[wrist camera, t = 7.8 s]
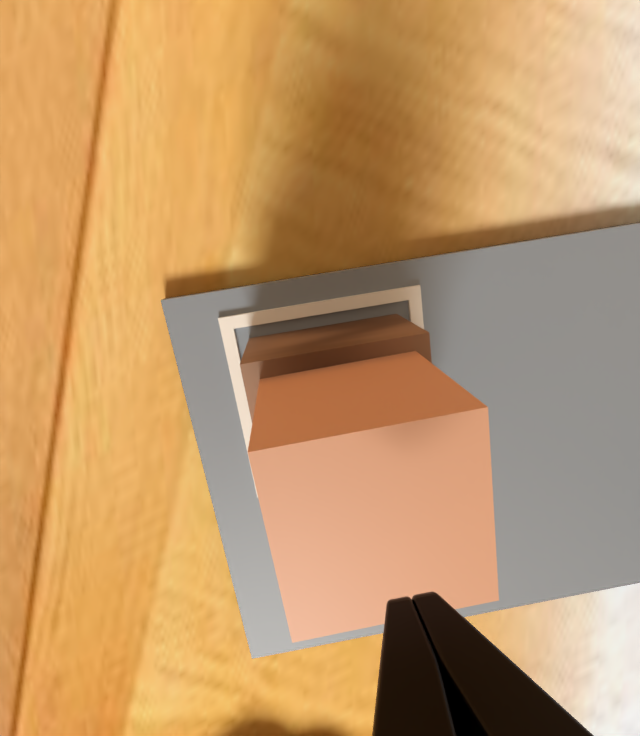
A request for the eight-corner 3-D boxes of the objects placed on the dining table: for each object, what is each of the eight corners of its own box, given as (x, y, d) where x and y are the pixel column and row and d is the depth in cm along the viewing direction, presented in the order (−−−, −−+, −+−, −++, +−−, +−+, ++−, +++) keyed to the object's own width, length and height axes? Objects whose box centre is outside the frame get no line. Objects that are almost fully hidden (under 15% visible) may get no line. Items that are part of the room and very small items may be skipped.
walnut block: (396, 313, 17) (429, 332, 14) (410, 447, 19) (442, 497, 15) (249, 338, 17) (239, 364, 13) (275, 471, 19) (274, 528, 15)
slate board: (693, 213, 18) (712, 211, 17) (662, 568, 23) (675, 579, 22) (164, 298, 17) (159, 300, 16) (252, 647, 22) (251, 662, 21)
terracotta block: (415, 350, 14) (488, 407, 9) (429, 487, 15) (499, 600, 10) (259, 379, 13) (247, 452, 9) (288, 515, 15) (292, 643, 10)
